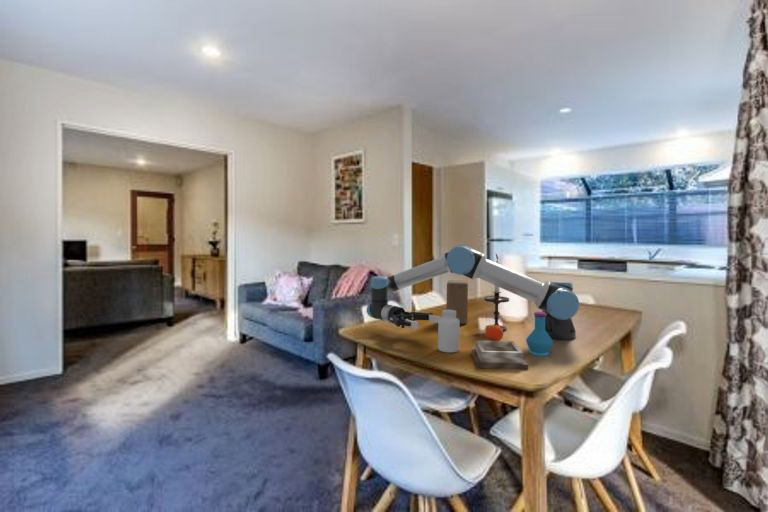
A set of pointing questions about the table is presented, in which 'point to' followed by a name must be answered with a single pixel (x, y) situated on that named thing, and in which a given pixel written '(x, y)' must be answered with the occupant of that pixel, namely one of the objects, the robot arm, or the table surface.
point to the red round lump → (494, 332)
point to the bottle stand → (498, 355)
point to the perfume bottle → (539, 337)
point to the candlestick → (496, 302)
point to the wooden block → (458, 299)
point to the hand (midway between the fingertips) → (429, 323)
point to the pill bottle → (448, 332)
